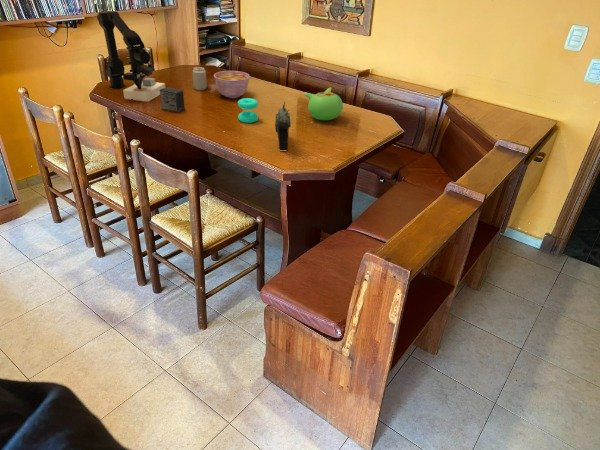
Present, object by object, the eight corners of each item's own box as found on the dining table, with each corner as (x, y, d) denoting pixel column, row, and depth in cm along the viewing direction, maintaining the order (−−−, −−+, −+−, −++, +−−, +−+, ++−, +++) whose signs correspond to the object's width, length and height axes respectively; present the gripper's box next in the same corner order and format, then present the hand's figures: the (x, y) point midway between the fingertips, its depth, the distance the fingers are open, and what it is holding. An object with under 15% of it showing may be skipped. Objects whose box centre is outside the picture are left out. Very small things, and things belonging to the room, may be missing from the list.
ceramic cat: (290, 153, 195) (291, 108, 184) (275, 153, 194) (276, 108, 183) (287, 135, 211) (289, 93, 200) (273, 135, 211) (274, 93, 200)
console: (124, 98, 243) (123, 90, 240) (143, 88, 259) (142, 80, 257) (148, 101, 241) (146, 93, 238) (165, 91, 257) (164, 83, 254)
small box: (185, 109, 233) (183, 89, 228) (177, 113, 228) (175, 93, 223) (169, 106, 237) (167, 86, 231) (161, 109, 232) (158, 89, 226)
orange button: (134, 96, 244) (133, 89, 242) (139, 93, 248) (138, 87, 246) (142, 97, 243) (141, 90, 241) (147, 94, 247) (146, 88, 245)
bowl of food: (208, 97, 251) (206, 76, 245) (226, 88, 267) (225, 68, 260) (239, 103, 245) (238, 82, 239) (255, 94, 261) (255, 73, 255)
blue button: (143, 86, 250) (142, 79, 248) (147, 83, 254) (146, 77, 252) (151, 87, 249) (150, 81, 247) (155, 84, 253) (154, 78, 252)
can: (208, 87, 267) (207, 66, 260) (204, 91, 261) (203, 70, 254) (196, 86, 267) (194, 65, 261) (192, 90, 261) (190, 69, 254)
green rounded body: (316, 126, 223) (318, 97, 215) (301, 115, 235) (302, 87, 227) (347, 122, 230) (350, 94, 222) (330, 111, 242) (332, 84, 234)
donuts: (252, 96, 226) (261, 102, 219) (252, 115, 231) (261, 121, 225) (234, 98, 221) (243, 105, 214) (235, 118, 227) (243, 124, 220)
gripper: (139, 65, 226) (144, 95, 234) (158, 57, 241) (161, 86, 250) (120, 62, 228) (125, 93, 236) (139, 55, 243) (143, 83, 251)
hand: (139, 89), depth 243 cm, fingers closed, pressing on orange button
